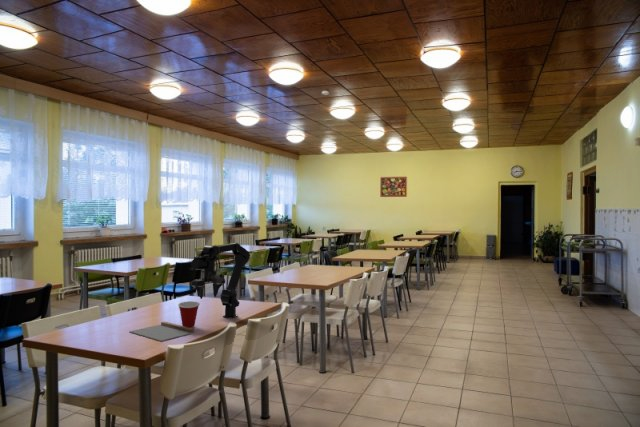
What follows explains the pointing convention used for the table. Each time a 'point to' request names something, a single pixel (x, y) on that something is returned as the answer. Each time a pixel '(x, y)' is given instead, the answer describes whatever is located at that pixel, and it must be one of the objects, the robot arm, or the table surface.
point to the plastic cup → (188, 313)
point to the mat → (160, 332)
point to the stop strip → (177, 327)
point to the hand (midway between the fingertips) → (208, 297)
